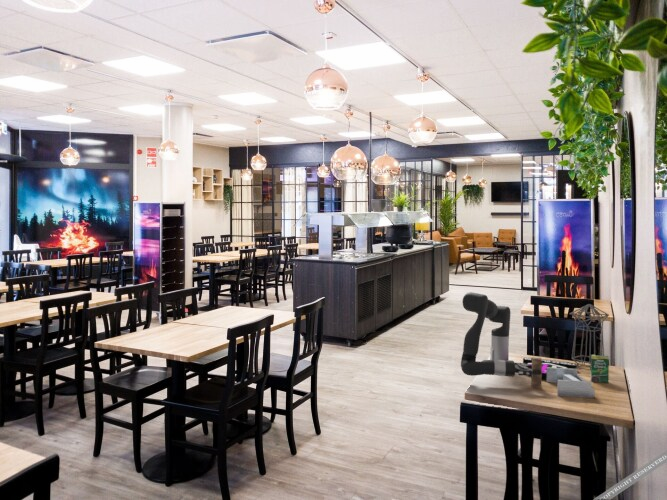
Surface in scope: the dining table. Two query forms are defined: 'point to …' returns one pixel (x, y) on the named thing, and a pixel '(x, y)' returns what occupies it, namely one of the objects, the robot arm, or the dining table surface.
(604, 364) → the coffee box
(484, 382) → the dining table surface
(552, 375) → the rack
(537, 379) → the walnut board
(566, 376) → the offcut stack
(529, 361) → the sign
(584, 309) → the geometric lantern
